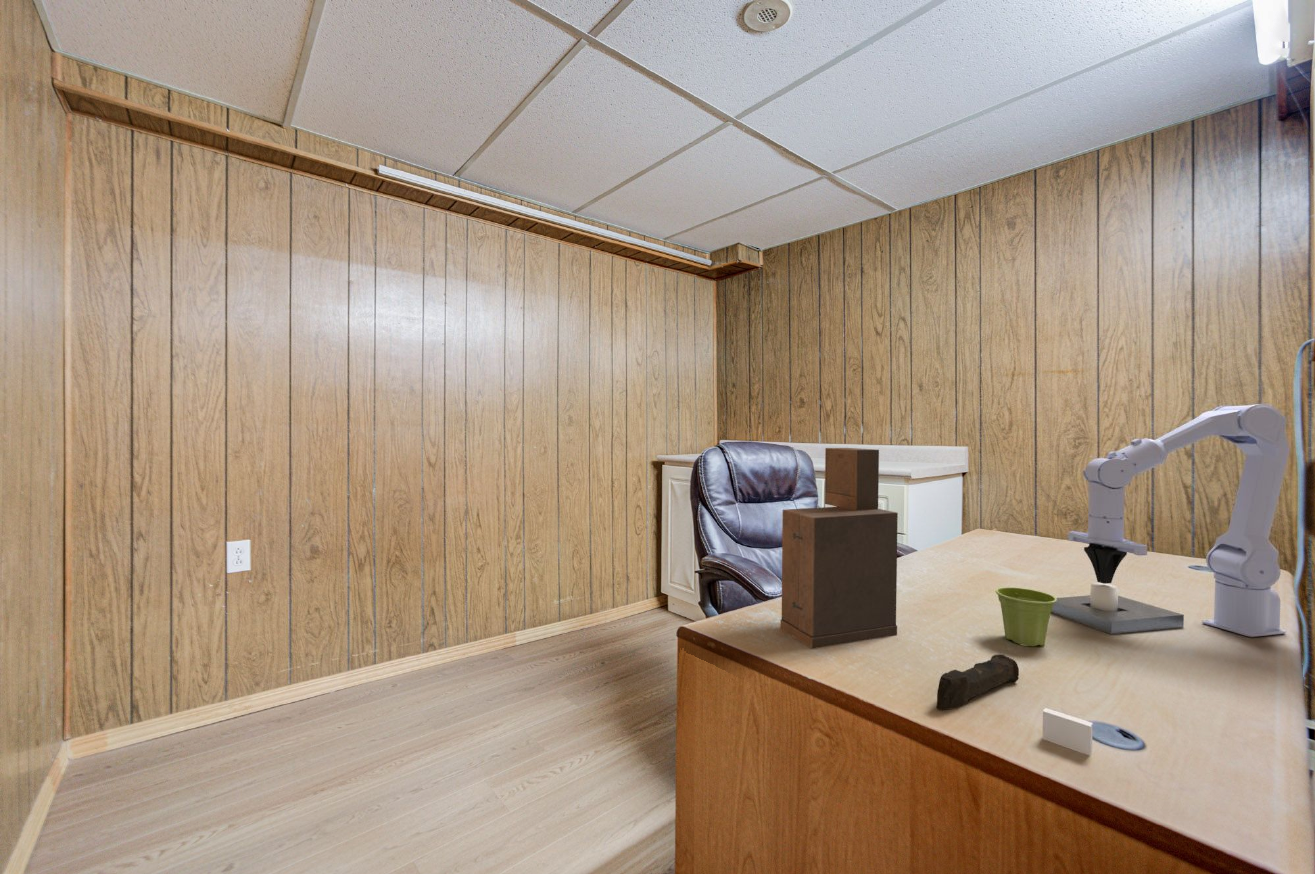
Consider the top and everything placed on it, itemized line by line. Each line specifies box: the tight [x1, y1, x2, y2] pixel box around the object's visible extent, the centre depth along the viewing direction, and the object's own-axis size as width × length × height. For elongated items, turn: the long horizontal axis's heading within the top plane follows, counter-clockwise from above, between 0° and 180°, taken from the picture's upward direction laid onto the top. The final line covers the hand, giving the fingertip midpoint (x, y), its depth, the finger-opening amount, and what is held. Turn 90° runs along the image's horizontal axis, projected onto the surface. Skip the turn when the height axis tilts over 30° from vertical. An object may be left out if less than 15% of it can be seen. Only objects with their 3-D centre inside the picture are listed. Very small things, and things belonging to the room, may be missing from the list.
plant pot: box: [995, 586, 1058, 647], centre depth 102 cm, size 9×9×9 cm
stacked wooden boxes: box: [779, 447, 899, 649], centre depth 107 cm, size 19×14×35 cm
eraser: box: [1041, 707, 1094, 756], centre depth 68 cm, size 1×5×4 cm, turn 43°
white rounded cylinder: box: [1089, 582, 1119, 613], centre depth 114 cm, size 4×4×7 cm
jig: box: [1050, 594, 1185, 635], centre depth 114 cm, size 18×14×2 cm
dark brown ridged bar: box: [936, 653, 1020, 711], centre depth 82 cm, size 19×4×5 cm, turn 120°
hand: (1104, 582), depth 113 cm, fingers closed
